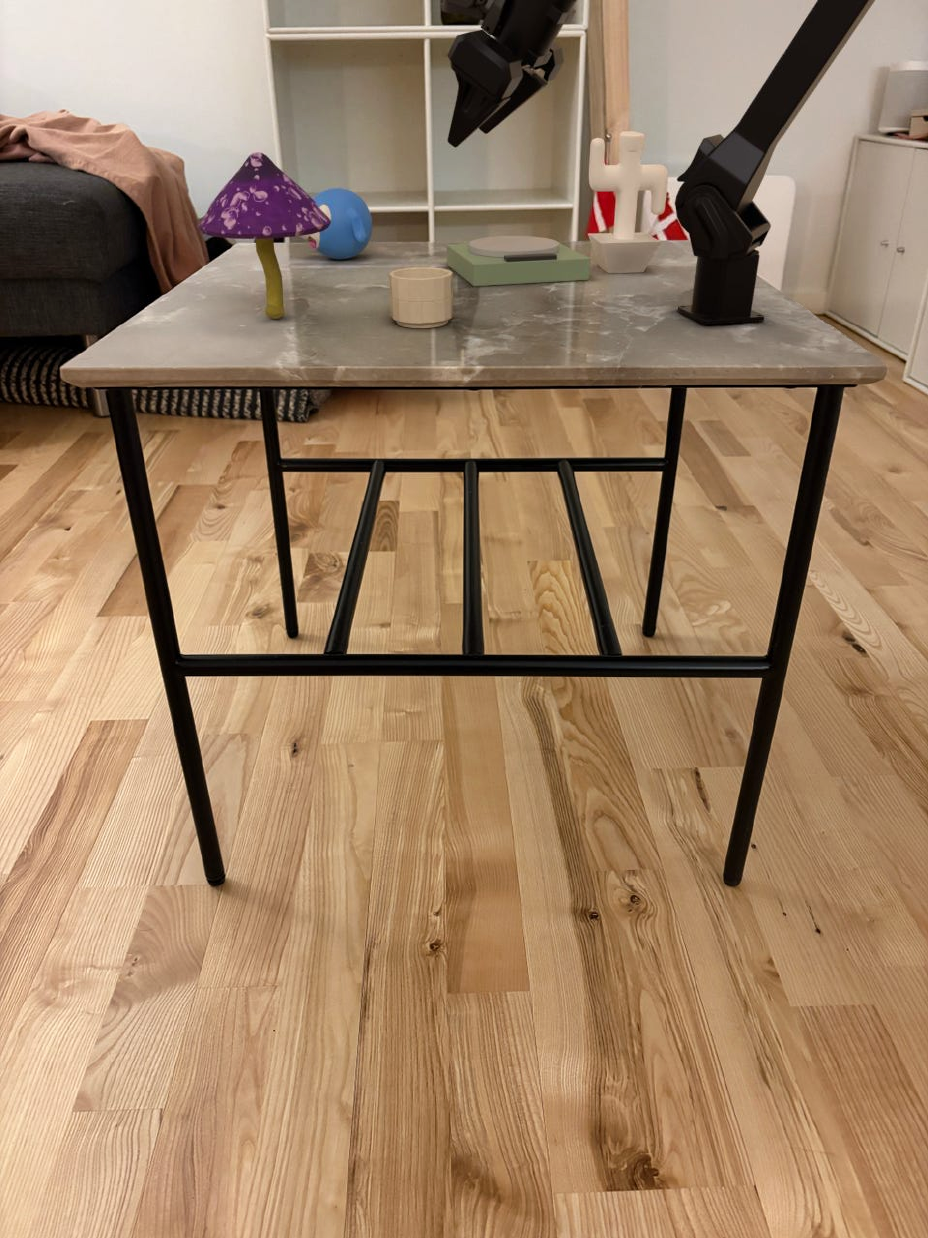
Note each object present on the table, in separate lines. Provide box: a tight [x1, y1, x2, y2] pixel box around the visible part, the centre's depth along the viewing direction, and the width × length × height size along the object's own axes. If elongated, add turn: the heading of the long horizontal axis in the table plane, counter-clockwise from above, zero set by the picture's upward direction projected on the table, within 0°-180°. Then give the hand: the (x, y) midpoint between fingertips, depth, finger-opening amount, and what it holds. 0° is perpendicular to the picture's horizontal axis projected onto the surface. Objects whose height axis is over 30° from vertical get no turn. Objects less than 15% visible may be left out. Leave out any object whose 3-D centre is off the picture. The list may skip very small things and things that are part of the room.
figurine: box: [587, 130, 669, 274], centre depth 109 cm, size 7×9×15 cm
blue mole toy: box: [298, 187, 373, 260], centre depth 118 cm, size 12×12×8 cm
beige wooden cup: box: [388, 266, 454, 329], centre depth 90 cm, size 6×6×5 cm
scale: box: [446, 235, 591, 287], centre depth 112 cm, size 14×14×3 cm
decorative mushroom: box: [197, 151, 331, 320], centre depth 88 cm, size 12×12×15 cm
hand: (467, 137), depth 95 cm, fingers open, 9 cm apart
